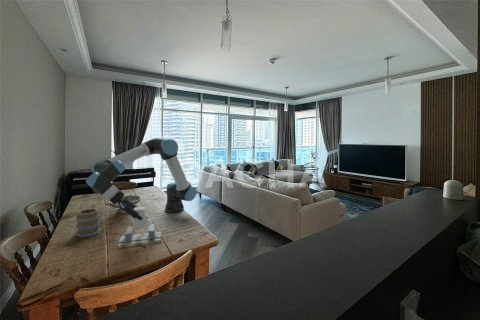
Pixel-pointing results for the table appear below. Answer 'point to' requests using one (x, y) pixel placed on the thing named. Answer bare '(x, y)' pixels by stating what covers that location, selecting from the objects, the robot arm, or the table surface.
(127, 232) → the mounted modules
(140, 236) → the mounting board
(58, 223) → the table surface
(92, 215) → the tankard
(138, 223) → the block
